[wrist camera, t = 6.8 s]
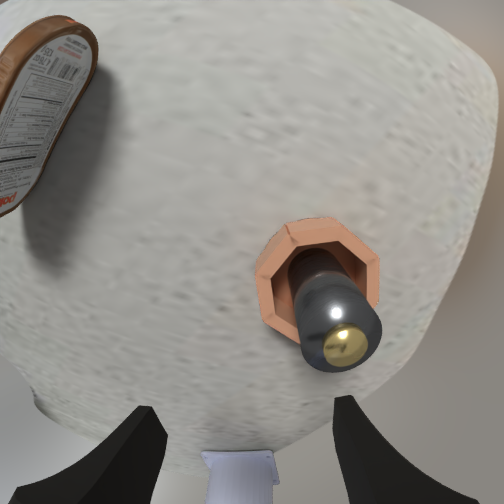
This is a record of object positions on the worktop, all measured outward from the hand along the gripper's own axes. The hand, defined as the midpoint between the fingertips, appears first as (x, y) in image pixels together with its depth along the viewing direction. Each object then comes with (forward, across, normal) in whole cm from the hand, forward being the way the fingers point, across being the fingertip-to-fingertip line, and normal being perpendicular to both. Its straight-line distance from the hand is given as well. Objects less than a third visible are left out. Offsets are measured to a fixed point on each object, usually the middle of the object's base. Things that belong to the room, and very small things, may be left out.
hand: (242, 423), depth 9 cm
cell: (+10, -4, -2) cm, 11 cm away
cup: (+10, -4, -2) cm, 11 cm away
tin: (+10, +13, -16) cm, 23 cm away
